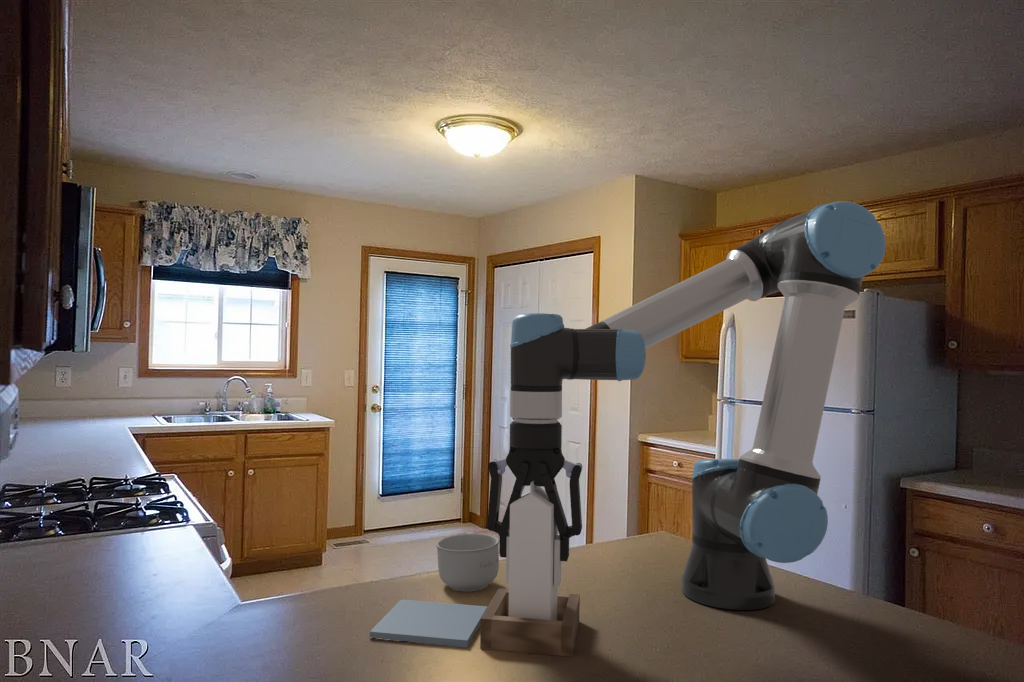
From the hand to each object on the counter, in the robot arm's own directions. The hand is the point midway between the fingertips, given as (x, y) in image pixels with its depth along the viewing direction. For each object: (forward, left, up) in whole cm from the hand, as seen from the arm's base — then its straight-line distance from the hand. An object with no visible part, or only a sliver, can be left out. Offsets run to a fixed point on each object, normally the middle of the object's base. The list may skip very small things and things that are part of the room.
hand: (533, 581), depth 97 cm
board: (+15, 0, -8) cm, 17 cm away
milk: (0, 0, -8) cm, 8 cm away
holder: (0, 0, -8) cm, 8 cm away
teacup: (+14, -19, -8) cm, 25 cm away
